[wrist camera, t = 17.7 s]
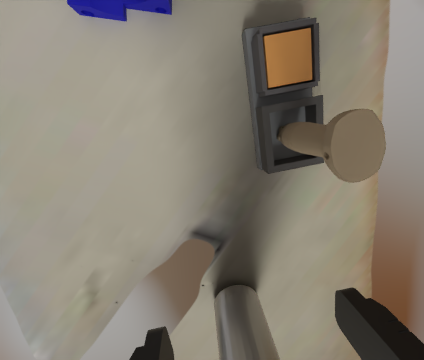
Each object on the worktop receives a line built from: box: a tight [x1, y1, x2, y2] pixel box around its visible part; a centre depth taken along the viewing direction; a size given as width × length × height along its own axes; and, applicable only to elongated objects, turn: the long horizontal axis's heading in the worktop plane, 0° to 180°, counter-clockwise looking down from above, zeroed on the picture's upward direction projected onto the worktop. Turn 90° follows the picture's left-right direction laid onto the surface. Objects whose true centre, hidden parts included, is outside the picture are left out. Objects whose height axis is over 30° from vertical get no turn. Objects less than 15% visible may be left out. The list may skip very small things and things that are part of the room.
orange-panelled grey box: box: [242, 17, 324, 174], centre depth 30 cm, size 20×9×5 cm, turn 10°
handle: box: [277, 109, 386, 183], centre depth 25 cm, size 5×6×15 cm
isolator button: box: [263, 28, 312, 89], centre depth 27 cm, size 6×6×2 cm
